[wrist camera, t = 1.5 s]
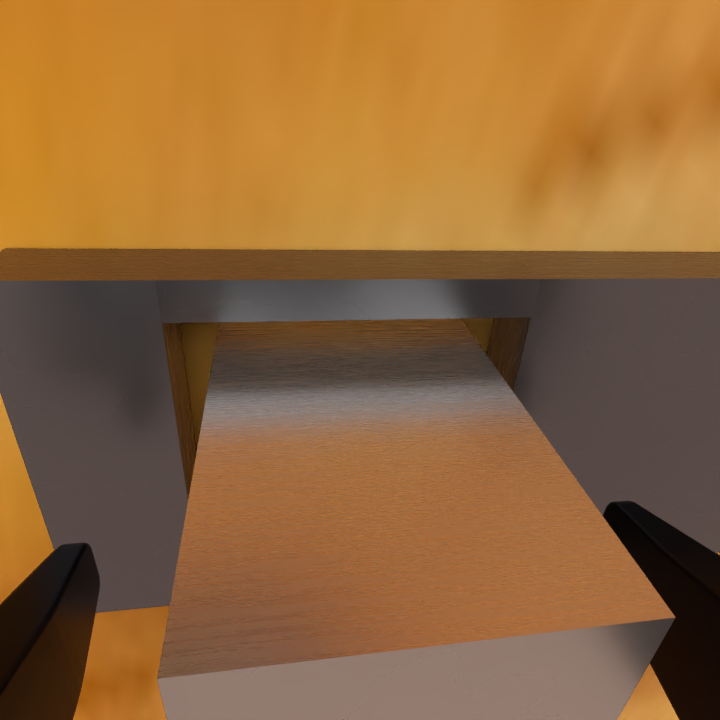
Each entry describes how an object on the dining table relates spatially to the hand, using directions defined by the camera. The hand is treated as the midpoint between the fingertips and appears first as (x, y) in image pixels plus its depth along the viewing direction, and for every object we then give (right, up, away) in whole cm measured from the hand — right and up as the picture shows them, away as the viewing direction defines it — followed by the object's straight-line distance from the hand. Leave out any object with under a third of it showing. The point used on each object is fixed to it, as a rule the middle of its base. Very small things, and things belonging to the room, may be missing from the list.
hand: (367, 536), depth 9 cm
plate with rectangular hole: (+2, +2, +3) cm, 5 cm away
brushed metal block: (-1, +2, +3) cm, 4 cm away
